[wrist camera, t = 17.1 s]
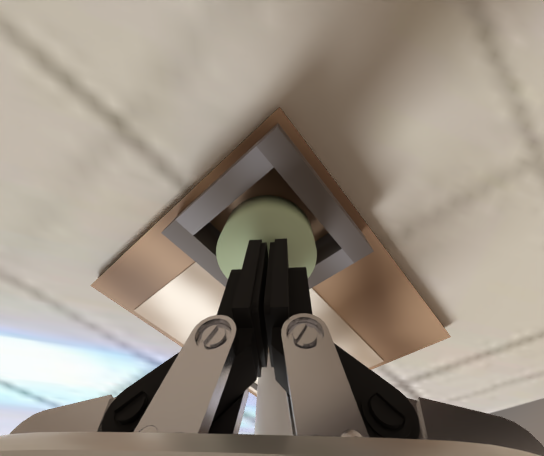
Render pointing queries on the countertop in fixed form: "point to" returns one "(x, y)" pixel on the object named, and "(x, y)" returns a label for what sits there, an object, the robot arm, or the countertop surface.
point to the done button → (266, 232)
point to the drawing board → (322, 282)
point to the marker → (271, 405)
